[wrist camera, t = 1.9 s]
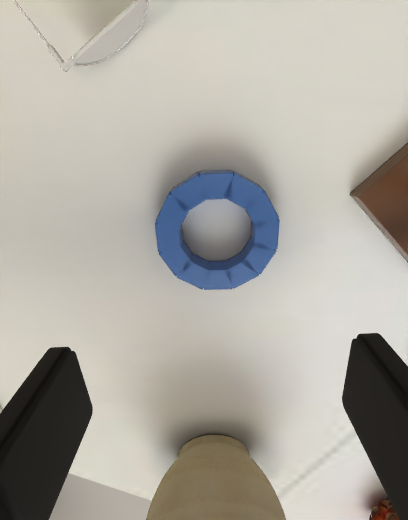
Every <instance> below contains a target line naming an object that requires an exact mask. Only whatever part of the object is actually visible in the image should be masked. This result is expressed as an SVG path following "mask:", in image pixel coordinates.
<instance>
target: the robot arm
mask: <svg viewBox="0 0 408 520" xmlns="http://www.w3.org/2000/svg"><path fill="white" fill-rule="evenodd" d="M342 402H343V406H344V409H345V411H346V413H347V415H348V417H349V419H350V421H351V423H352V425H353V427H354V429H355V431H356V433H357V435H358V437H359V439H360V441H361V443H362V445H363V447H364V449H365V451H366V453H367V455H368V457H369V459H370V461H371V463H372V465H373V467H374V469H375V471H376V474H377V476H378V478H379V480H380V482H381V484H382V486H383V488H384V490H385V492H386V494H387V496H388V498H389V500H390V502H391V504H392V506H393V508H394V510H395V512H396V514H397V516H398V518H399V520H408V366H407V365H406V364H405V363H404V362H403V360H402V359H401V358H400V357H399V356H398V355H397V353H396V352H395V351H394V350H393V349H392V348H391V346H390V345H389V344H388V343H387V342H386V341H385V339H384V338H383V337H382V336H381V335H380V334H378V333H370V334H359V335H358V336H357V339H353V340H352V343H351V349H350V355H349V361H348V367H347V372H346V378H345V384H344V390H343V396H342ZM91 416H92V404H91V401H90V397H89V394H88V391H87V388H86V385H85V381H84V378H83V375H82V372H81V369H80V366H79V362H78V359H77V356H76V353H75V352H74V351H71V349H70V348H69V347H54V348H50V349H48V350H47V352H46V353H45V354H44V356H43V357H42V358H41V360H40V361H39V362H38V364H37V365H36V366H35V368H34V369H33V370H32V372H31V373H30V374H29V376H28V377H27V378H26V380H25V381H24V382H23V384H22V385H21V386H20V388H19V389H18V390H17V392H16V393H15V394H14V396H13V397H12V398H11V400H10V401H9V403H8V404H7V405H6V407H5V408H4V409H3V411H2V412H1V413H0V520H49V518H50V515H51V513H52V510H53V508H54V506H55V503H56V501H57V498H58V496H59V493H60V491H61V489H62V486H63V484H64V482H65V479H66V477H67V474H68V472H69V469H70V467H71V465H72V462H73V460H74V457H75V455H76V453H77V450H78V448H79V445H80V443H81V441H82V438H83V436H84V433H85V431H86V429H87V426H88V424H89V421H90V419H91Z"/></svg>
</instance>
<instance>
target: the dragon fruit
mask: <svg viewBox="0 0 408 520" xmlns="http://www.w3.org/2000/svg"><path fill="white" fill-rule="evenodd" d="M371 515H372V518H371ZM371 515H370V519H369V520H399V518H398V516H397V514H396V512H395V510H394V508H393V506H392V504H391V502H390V500H381V501H379V503H378V505H377V506H375V507H374V508H373V509H372V512H371Z"/></svg>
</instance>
